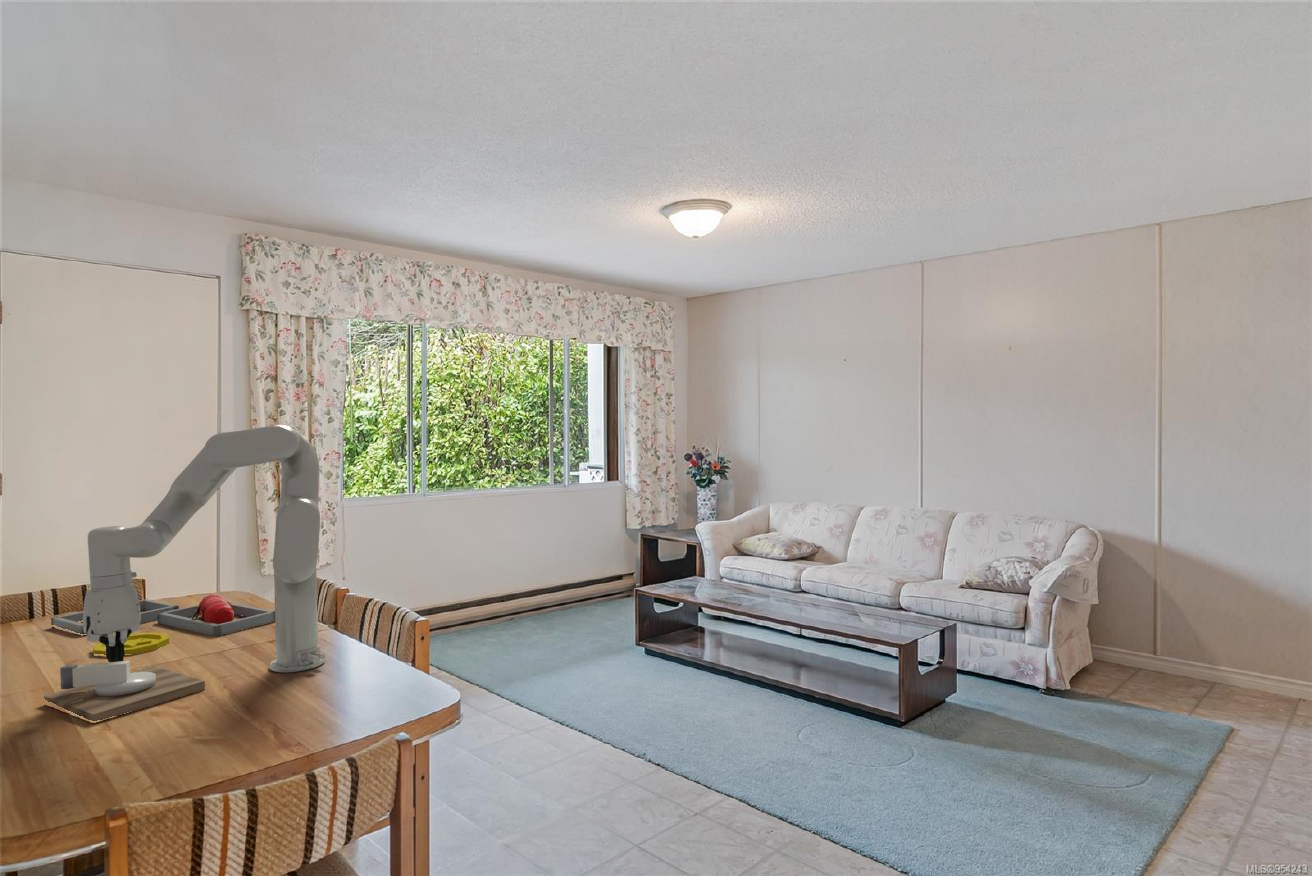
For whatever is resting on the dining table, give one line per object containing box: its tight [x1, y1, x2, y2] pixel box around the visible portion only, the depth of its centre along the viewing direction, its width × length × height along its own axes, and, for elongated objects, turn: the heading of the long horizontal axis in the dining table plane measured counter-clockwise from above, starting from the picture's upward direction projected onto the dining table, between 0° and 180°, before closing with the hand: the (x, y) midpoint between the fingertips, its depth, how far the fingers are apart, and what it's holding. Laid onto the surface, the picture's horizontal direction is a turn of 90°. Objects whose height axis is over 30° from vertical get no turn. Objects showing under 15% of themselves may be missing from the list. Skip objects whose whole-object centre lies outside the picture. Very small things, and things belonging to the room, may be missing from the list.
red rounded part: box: [191, 594, 235, 624], centre depth 228 cm, size 12×8×25 cm
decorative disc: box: [92, 631, 170, 655], centre depth 204 cm, size 17×18×2 cm
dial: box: [59, 660, 156, 696], centre depth 165 cm, size 18×11×6 cm, turn 108°
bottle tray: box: [157, 602, 275, 638], centre depth 229 cm, size 32×18×3 cm, turn 60°
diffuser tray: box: [50, 598, 180, 634], centre depth 232 cm, size 20×26×3 cm
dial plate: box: [43, 665, 206, 721], centre depth 166 cm, size 22×22×2 cm
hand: (115, 661), depth 171 cm, fingers closed
